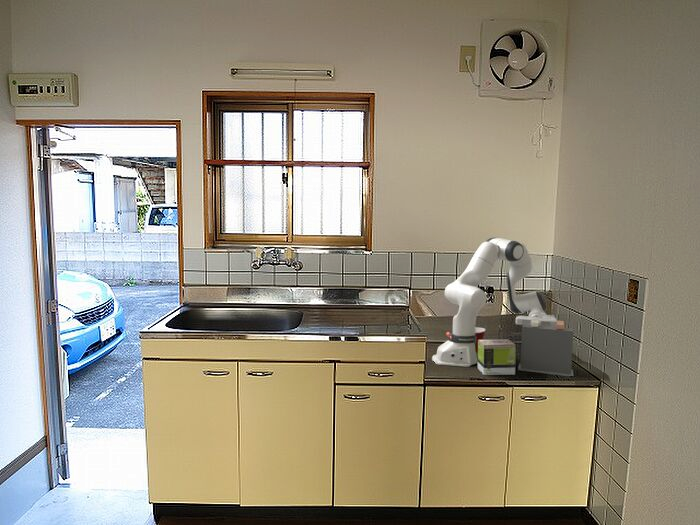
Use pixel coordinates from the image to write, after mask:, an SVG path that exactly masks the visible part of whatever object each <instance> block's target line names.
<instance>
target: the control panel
mask: <svg viewBox="0 0 700 525" xmlns="http://www.w3.org/2000/svg"><path fill="white" fill-rule="evenodd" d="M573 343H574V329H573V328H571V327H564V329H557V327H552V326H540V325H538V327H532V326H531V325H529V324H523V325H521V345H520V346H521V348H520V362H519V363H518V368H517V371H523V372H530V373H531V372H532V373H539V374H546V375H547V374H548V375H553V376H556V375H557V376H564V377H570V376H573V377H574V370H573V369H572V364H573Z"/></svg>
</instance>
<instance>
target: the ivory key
mask: <svg viewBox="0 0 700 525" xmlns="http://www.w3.org/2000/svg"><path fill="white" fill-rule="evenodd" d="M538 325H539V319H533V318H532V322H531V326H532V327H538Z"/></svg>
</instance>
